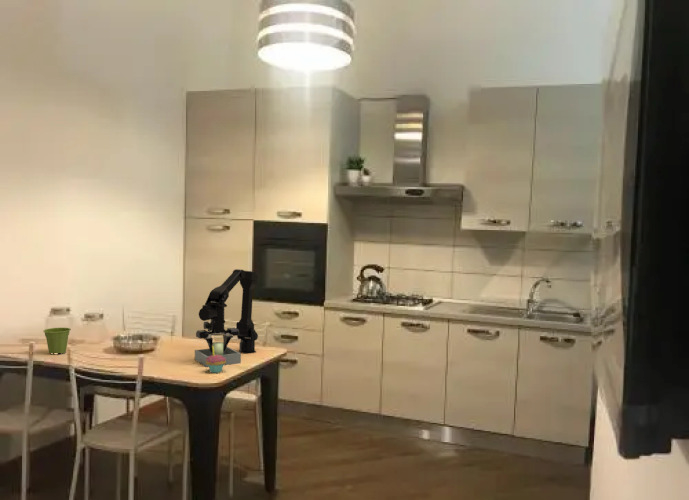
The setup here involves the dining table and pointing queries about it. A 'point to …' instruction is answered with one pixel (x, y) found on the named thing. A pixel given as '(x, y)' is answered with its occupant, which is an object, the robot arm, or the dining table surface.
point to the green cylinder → (218, 348)
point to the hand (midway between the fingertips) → (217, 351)
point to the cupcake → (215, 362)
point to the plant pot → (57, 339)
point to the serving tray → (229, 355)
